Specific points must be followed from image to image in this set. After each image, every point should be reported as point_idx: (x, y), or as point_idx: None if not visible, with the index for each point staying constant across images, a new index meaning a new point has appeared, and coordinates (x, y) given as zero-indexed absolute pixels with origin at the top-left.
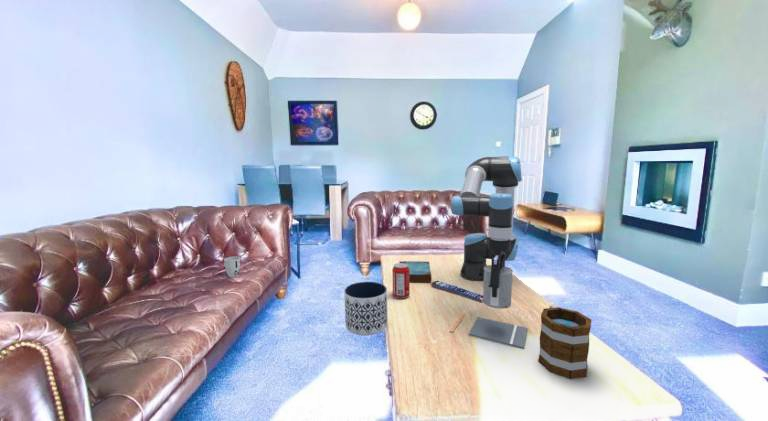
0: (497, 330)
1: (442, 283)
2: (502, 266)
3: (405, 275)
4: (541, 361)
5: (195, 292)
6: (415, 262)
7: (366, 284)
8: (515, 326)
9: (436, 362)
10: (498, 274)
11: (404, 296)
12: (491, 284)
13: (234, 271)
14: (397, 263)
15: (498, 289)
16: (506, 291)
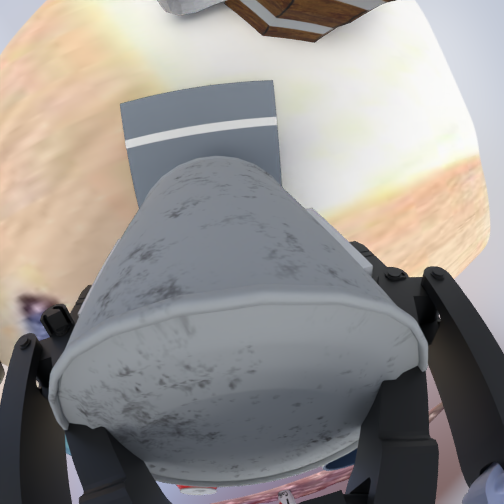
0: None
1: None
2: (395, 468)
3: None
4: (326, 33)
5: (332, 476)
6: (67, 451)
7: (327, 465)
8: (138, 141)
9: (414, 258)
10: (495, 348)
11: None
12: (434, 319)
13: (288, 495)
14: (193, 494)
15: (365, 263)
16: (298, 204)
